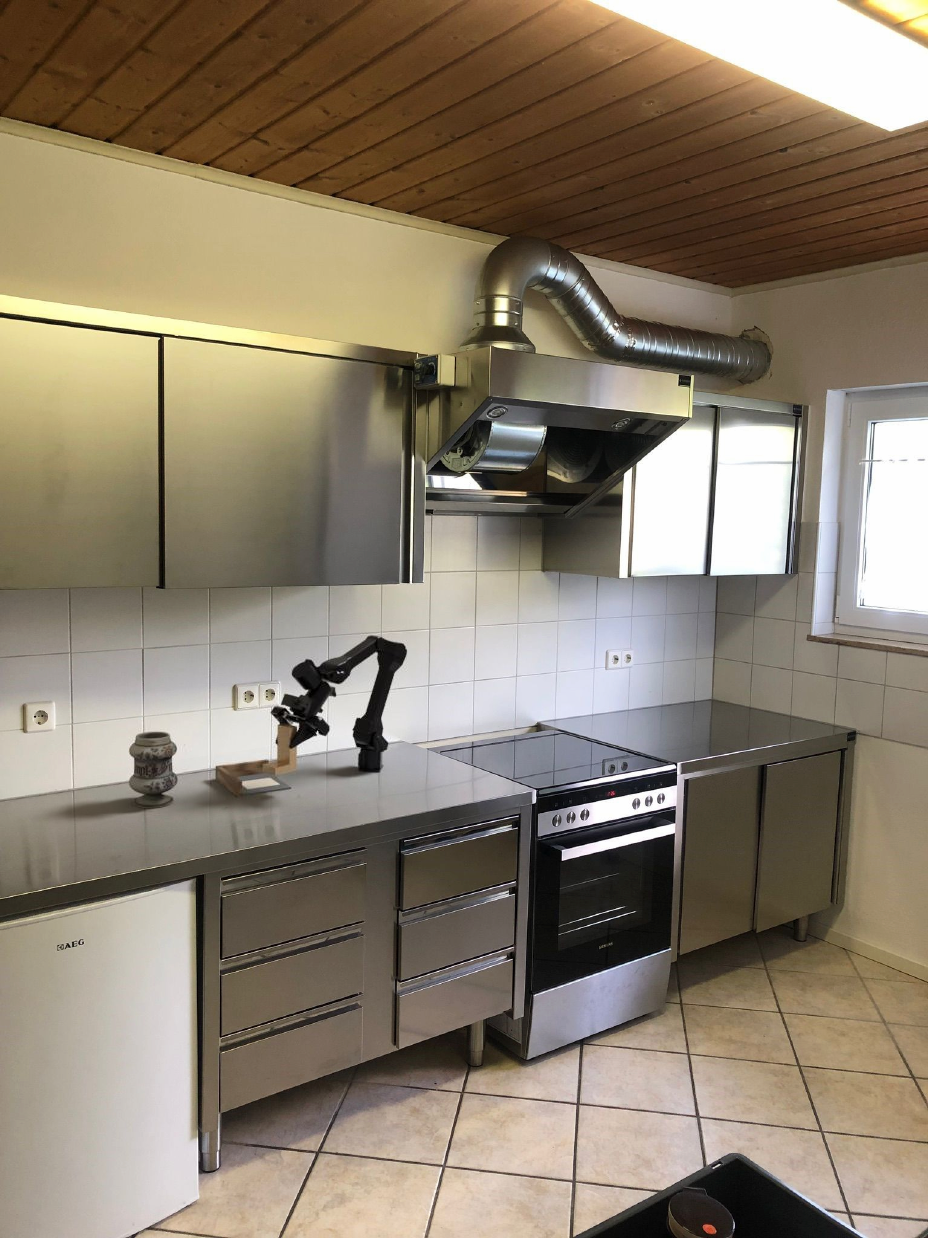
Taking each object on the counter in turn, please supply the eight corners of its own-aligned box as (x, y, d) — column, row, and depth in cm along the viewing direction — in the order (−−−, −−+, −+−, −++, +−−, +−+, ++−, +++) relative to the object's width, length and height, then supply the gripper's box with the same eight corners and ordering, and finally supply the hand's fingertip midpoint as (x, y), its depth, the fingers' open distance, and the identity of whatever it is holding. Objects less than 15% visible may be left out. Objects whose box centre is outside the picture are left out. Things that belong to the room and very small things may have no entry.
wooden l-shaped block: (284, 766, 263) (284, 723, 262) (296, 769, 260) (297, 726, 259) (262, 771, 257) (263, 728, 256) (275, 775, 254) (275, 731, 253)
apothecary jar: (158, 792, 258) (158, 726, 256) (187, 801, 251) (187, 734, 249) (119, 802, 249) (118, 734, 246) (148, 813, 242) (148, 743, 239)
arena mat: (268, 774, 278) (268, 772, 278) (291, 788, 266) (291, 786, 266) (222, 780, 271) (222, 778, 270) (242, 795, 258) (242, 794, 258)
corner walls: (266, 772, 280) (267, 759, 279) (291, 788, 266) (291, 774, 265) (215, 779, 271) (215, 766, 270) (237, 796, 257) (237, 782, 257)
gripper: (276, 677, 267) (244, 722, 259) (322, 687, 255) (290, 735, 248) (297, 701, 274) (266, 745, 267) (343, 712, 262) (312, 759, 255)
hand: (283, 746), depth 259 cm, fingers closed on wooden l-shaped block, 5 cm apart
